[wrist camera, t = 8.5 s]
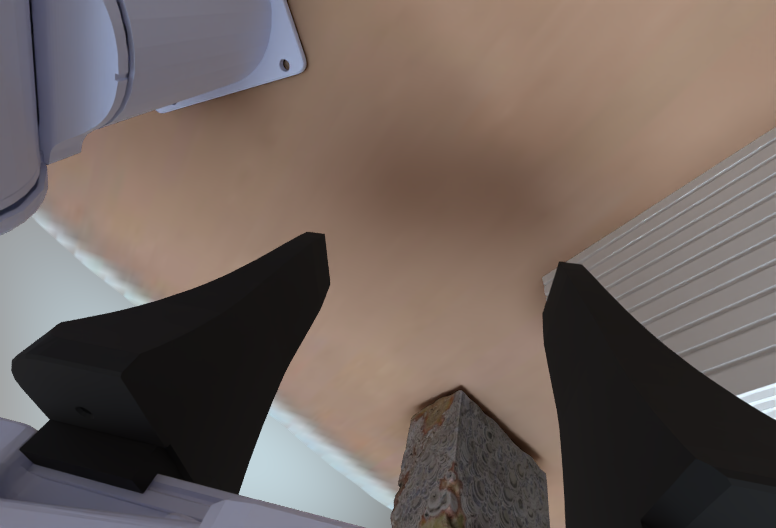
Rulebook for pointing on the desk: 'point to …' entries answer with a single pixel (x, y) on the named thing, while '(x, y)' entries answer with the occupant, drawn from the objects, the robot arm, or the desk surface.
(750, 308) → the grey ribbed box
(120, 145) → the desk surface
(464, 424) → the geological specimen
